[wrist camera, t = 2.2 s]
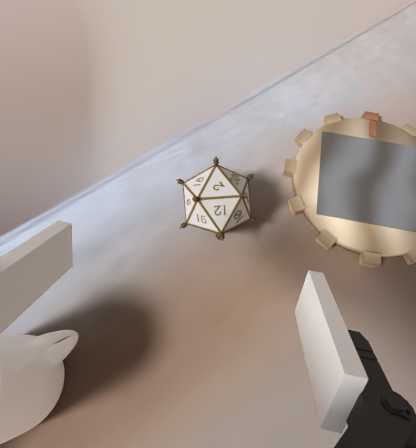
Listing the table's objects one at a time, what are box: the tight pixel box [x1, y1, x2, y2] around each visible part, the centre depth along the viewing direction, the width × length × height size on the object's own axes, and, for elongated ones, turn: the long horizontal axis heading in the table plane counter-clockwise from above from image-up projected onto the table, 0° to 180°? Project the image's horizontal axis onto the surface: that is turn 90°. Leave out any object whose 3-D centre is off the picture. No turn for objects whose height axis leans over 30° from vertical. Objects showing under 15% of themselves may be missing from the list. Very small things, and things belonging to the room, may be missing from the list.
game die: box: [177, 157, 258, 241], centre depth 33 cm, size 9×8×10 cm
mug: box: [0, 330, 78, 444], centre depth 25 cm, size 9×12×11 cm
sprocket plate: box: [283, 111, 416, 268], centre depth 38 cm, size 21×21×1 cm
